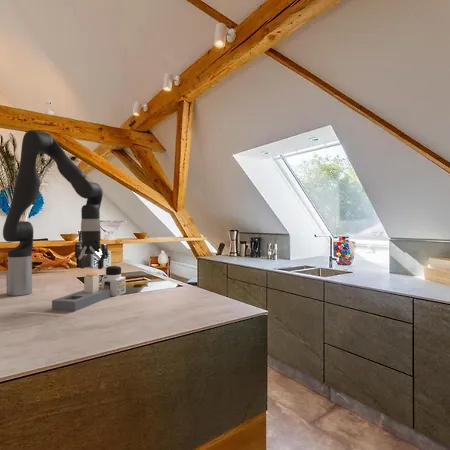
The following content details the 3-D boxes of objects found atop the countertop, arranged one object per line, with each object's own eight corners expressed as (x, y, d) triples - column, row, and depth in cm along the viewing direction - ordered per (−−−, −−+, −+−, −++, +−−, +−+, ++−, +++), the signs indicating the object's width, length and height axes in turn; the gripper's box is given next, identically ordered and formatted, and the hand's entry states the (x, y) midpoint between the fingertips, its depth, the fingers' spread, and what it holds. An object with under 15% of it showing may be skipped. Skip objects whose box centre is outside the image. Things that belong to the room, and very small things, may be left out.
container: (117, 297, 141) (116, 267, 141) (101, 296, 142) (100, 267, 142) (125, 293, 148) (125, 265, 148) (110, 292, 150) (110, 264, 150)
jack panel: (52, 311, 120) (52, 300, 120) (89, 296, 141) (89, 287, 141) (75, 312, 118) (75, 301, 118) (110, 298, 139) (109, 289, 139)
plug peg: (84, 300, 133) (84, 275, 133) (90, 298, 137) (90, 273, 137) (93, 301, 132) (92, 275, 132) (98, 298, 136) (98, 273, 136)
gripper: (69, 230, 132) (70, 269, 132) (100, 230, 129) (101, 270, 129) (82, 229, 139) (82, 266, 140) (111, 229, 136) (111, 267, 136)
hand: (91, 268), depth 134 cm, fingers open, 8 cm apart
